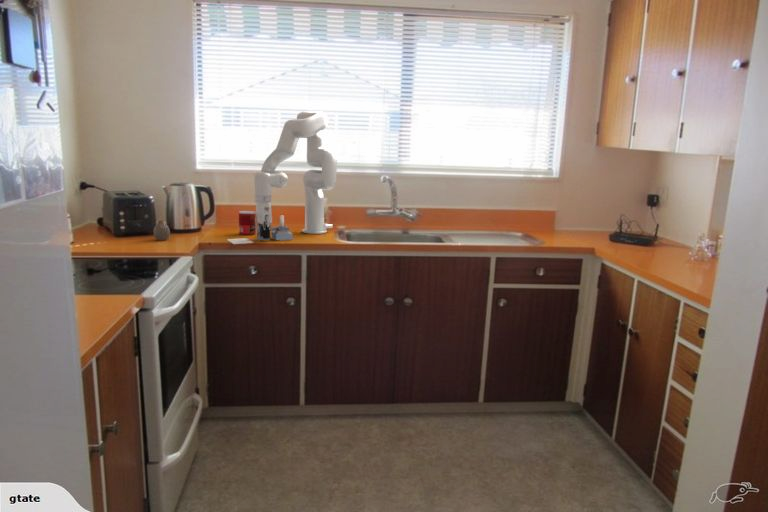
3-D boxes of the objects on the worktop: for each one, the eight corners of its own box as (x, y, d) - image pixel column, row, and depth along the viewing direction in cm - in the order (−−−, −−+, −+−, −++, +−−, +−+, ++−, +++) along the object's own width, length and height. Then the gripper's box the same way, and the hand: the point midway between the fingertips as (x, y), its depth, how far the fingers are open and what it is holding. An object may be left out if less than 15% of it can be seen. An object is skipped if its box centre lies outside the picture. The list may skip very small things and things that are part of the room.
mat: (246, 238, 259) (246, 238, 259) (253, 243, 250) (253, 242, 250) (227, 240, 255) (227, 239, 254) (233, 244, 245) (233, 243, 245)
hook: (260, 241, 254) (259, 226, 253) (256, 239, 258) (256, 224, 257) (288, 239, 261) (288, 224, 260) (285, 237, 265) (285, 223, 264)
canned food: (253, 235, 269) (253, 213, 267) (237, 234, 269) (236, 212, 267) (257, 232, 276) (257, 211, 274) (241, 232, 276) (241, 210, 274)
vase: (150, 240, 249) (149, 220, 247) (162, 238, 255) (161, 219, 253) (161, 241, 246) (160, 222, 244) (173, 239, 252) (172, 220, 250)
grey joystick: (287, 237, 267) (287, 214, 265) (292, 239, 261) (292, 216, 259) (271, 238, 263) (271, 215, 261) (276, 240, 257) (276, 217, 255)
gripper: (277, 201, 248) (277, 239, 252) (264, 197, 263) (265, 233, 266) (260, 201, 244) (261, 240, 248) (249, 197, 259) (249, 234, 263)
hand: (263, 236), depth 257 cm, fingers open, 8 cm apart
